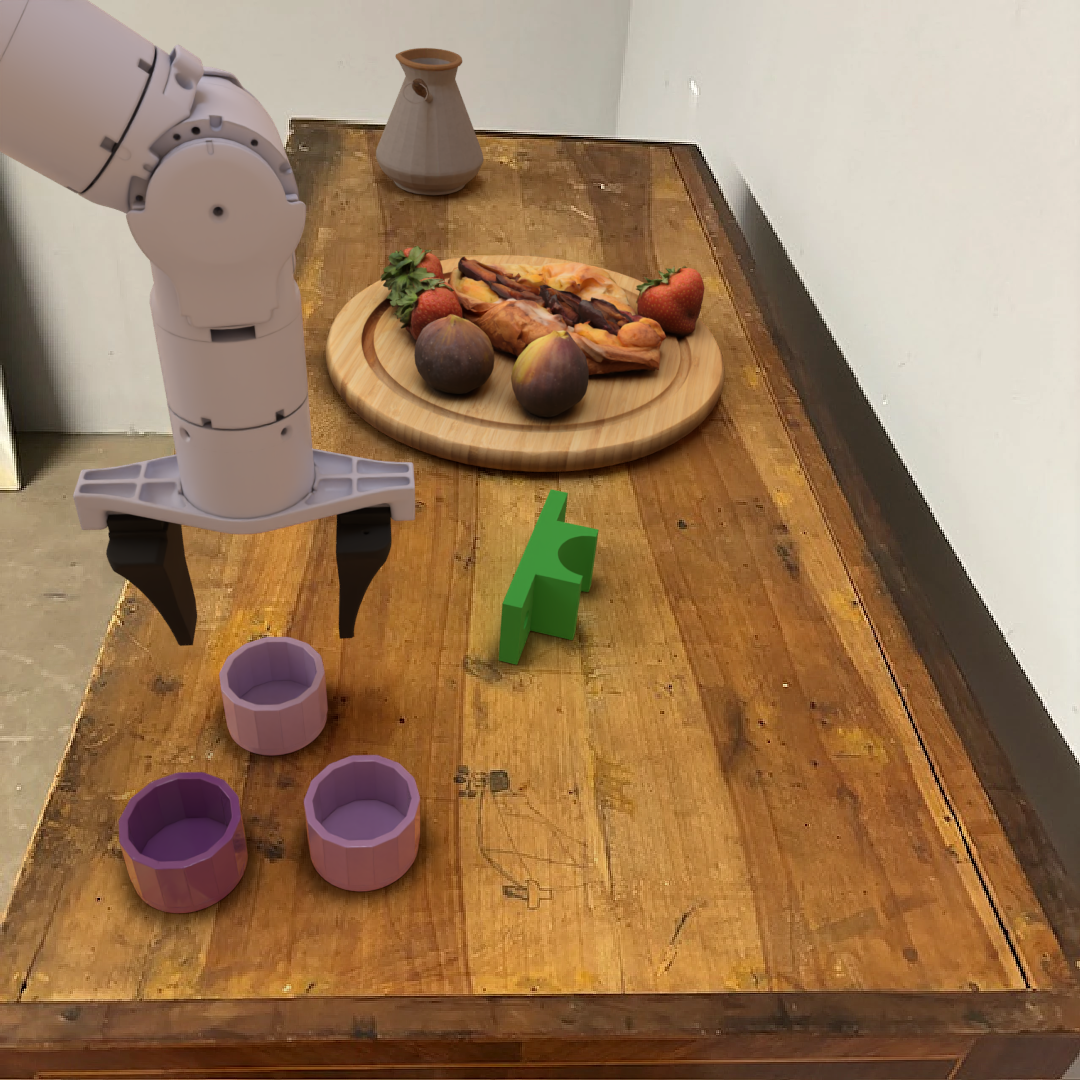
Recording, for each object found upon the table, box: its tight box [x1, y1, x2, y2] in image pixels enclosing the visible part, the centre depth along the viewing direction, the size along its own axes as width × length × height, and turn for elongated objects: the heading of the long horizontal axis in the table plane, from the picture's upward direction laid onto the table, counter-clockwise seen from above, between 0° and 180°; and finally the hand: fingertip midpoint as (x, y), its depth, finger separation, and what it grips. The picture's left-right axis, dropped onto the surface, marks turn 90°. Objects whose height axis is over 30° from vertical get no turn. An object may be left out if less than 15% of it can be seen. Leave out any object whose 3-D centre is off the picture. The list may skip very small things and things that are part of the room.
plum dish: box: [118, 771, 249, 914], centre depth 49 cm, size 5×5×4 cm
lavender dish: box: [218, 636, 329, 756], centre depth 57 cm, size 5×5×4 cm
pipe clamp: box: [498, 488, 600, 666], centre depth 65 cm, size 11×4×5 cm, turn 166°
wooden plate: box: [325, 245, 726, 473], centre depth 86 cm, size 32×32×8 cm
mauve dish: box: [303, 754, 421, 892], centre depth 51 cm, size 5×5×4 cm
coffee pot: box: [375, 47, 485, 196], centre depth 108 cm, size 21×12×15 cm, turn 179°
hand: (268, 628), depth 54 cm, fingers open, 7 cm apart
